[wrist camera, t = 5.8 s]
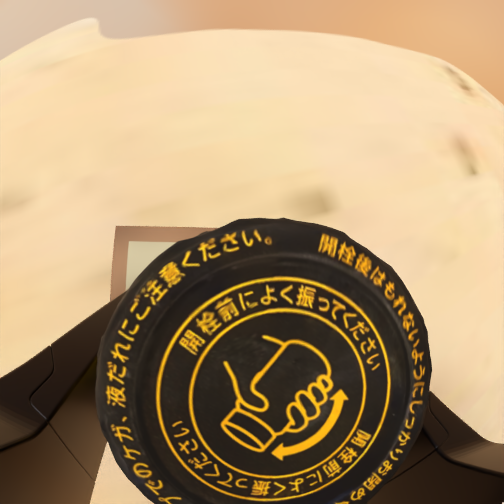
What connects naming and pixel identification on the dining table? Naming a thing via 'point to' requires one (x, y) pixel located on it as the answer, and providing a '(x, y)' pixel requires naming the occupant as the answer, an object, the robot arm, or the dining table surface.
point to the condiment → (263, 369)
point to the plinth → (142, 250)
